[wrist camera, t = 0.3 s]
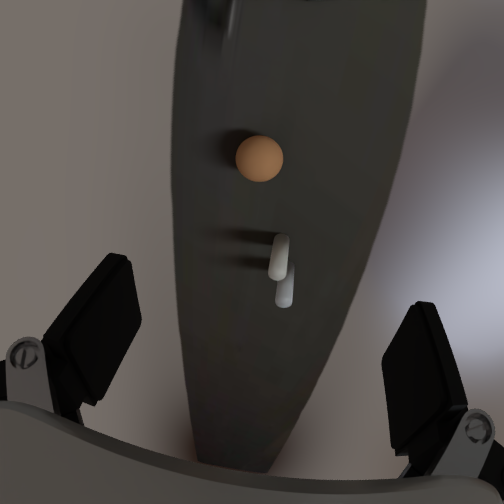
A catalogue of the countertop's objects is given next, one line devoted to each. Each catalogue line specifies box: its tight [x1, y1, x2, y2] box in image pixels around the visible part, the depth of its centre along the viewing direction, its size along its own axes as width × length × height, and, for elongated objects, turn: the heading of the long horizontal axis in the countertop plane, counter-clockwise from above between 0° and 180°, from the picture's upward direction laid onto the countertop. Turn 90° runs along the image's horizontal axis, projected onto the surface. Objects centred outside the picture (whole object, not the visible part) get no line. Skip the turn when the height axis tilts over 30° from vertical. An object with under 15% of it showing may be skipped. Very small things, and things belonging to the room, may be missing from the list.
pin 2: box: [275, 260, 295, 308], centre depth 47 cm, size 2×2×8 cm
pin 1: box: [268, 233, 289, 281], centre depth 45 cm, size 2×2×8 cm
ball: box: [236, 135, 283, 182], centre depth 39 cm, size 6×6×6 cm
